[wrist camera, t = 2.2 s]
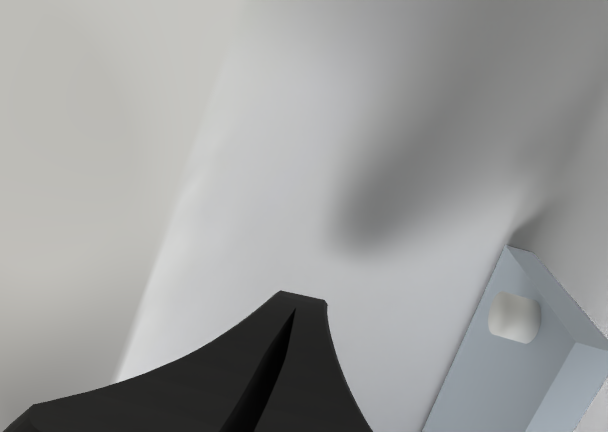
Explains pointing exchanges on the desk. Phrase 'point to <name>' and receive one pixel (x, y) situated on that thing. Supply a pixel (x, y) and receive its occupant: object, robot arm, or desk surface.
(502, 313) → the door
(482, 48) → the desk surface
